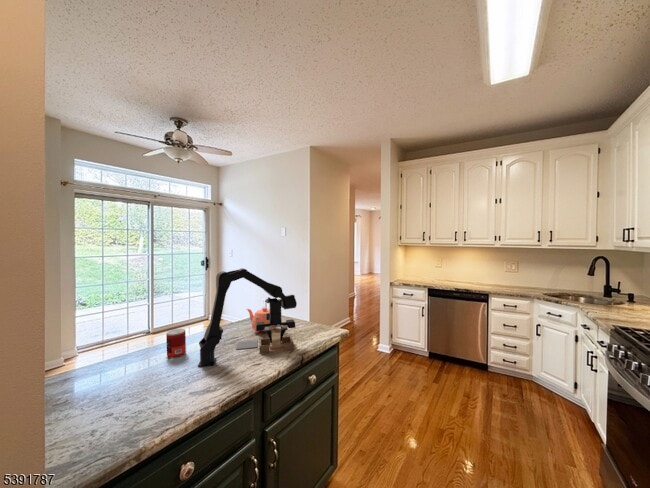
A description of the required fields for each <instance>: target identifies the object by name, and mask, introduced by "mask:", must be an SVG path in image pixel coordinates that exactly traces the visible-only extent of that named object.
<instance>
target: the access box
mask: <svg viewBox="0 0 650 488" xmlns="http://www.w3.org/2000/svg"><path fill="white" fill-rule="evenodd" d="M258 340H259V341H258V342H259V347H258V348H259V355H261V354H269V353H279V352H287V351H289V352H290V351H295V349H294V343H295V342H294V340H293V337H292V335H288V336H283V338H282V341H281V342H280V344H281V345H275V346H272V343H271V341H270V338H269V337H267V338H259V339H258Z"/></svg>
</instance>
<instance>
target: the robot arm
mask: <svg viewBox="0 0 650 488" xmlns="http://www.w3.org/2000/svg"><path fill="white" fill-rule="evenodd" d="M240 279H244V280H246V281H249V282H250V283H252V284H253V285H255V286H257V287H259V288H261V289H262V290H263V291H264V292H265V293H267V295H269V296H270V297H267V298H266V299H265V301H264V302H265V303H266V304H269V309H270V313H267V314H266V319H267V320H269V322H270V323H269V324H264V322H257V323H256V331H260V332H264V333H265V332H267V333H266V334H267V336H268V338H270V341H271V343H272V330H270V327H275V328H280V342H281V341H282V338H283V337H284V335H285V332H286V331H288V330H289V329H294V328H296V321H295V319H293V318H292V319H286V320H285V321H283V322H282V309H283V310H290V309H296V308H297V304H298V303H297V300H296V296H295V294H289V295H285V293H284V292H283V288H282V287H281V286H279V285H276V284H273V283H271V282H268V281H266V280H264V279H262V278H260V277H259V276H258V275H256V274H253V273H252V272H250V271H248V269H247V268H239V269H235V270H230V271H224V270H223V271H219V272H218V273H217V274H216V277H215V290H216V292H215V296H214V302H213V307H212V312H211V316H210V320H209V321H210V322H209V324H208V326H207V328H206V330H205V333H204V335H203V338H202V339H200V341H199V342H198V346H199V348H200V349H199V360H200V361H199V362H198V364H197V367H199V368H201V367H211V366H215V364H216V362H217V357H215V349H216V347H217V346H218V345H219V344H220V343H221V342H220V341H221V340H223V339H222V336H223V333H224V329H223V328H222V326H221V320H222V314H223V310H224V304H225V301H226V300H225V299H226V295H227V292H228V290H229V288H230V287H231V284H232V282H235V281H237V280H240ZM271 297H273V298H271ZM278 298H279V299H278ZM263 330H264V331H263Z"/></svg>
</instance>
